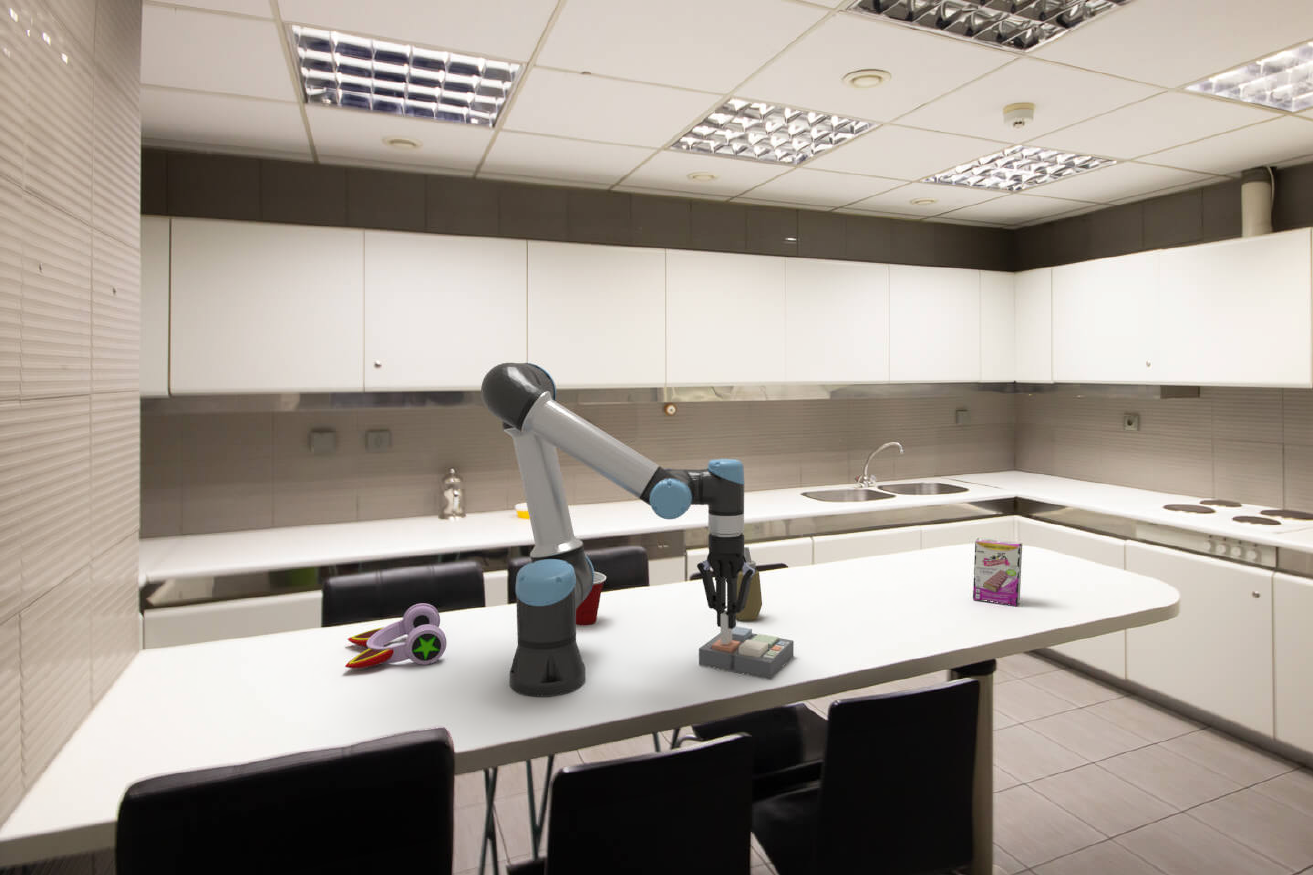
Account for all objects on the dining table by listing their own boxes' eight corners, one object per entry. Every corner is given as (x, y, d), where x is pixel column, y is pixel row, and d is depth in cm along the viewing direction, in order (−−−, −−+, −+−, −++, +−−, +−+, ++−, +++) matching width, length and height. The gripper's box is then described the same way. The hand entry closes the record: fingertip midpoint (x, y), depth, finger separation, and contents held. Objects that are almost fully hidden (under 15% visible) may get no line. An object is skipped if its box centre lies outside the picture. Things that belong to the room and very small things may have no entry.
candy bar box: (972, 600, 197) (974, 540, 196) (975, 596, 202) (977, 537, 200) (1018, 607, 191) (1020, 545, 190) (1020, 602, 196) (1022, 542, 194)
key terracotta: (731, 662, 153) (731, 648, 153) (711, 658, 155) (711, 644, 155) (740, 655, 157) (740, 641, 157) (720, 651, 159) (720, 637, 159)
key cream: (759, 664, 150) (759, 650, 149) (738, 660, 152) (738, 646, 152) (767, 657, 154) (767, 643, 153) (747, 653, 156) (747, 639, 156)
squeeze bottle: (754, 624, 180) (754, 552, 178) (724, 619, 184) (724, 549, 182) (767, 615, 186) (767, 546, 185) (738, 610, 191) (738, 542, 189)
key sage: (770, 657, 155) (770, 643, 155) (750, 653, 158) (750, 640, 157) (778, 650, 159) (778, 637, 159) (758, 646, 162) (758, 633, 161)
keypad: (770, 679, 147) (770, 660, 147) (698, 664, 155) (698, 646, 155) (793, 656, 159) (793, 638, 159) (726, 643, 167) (726, 626, 167)
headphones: (449, 627, 157) (348, 628, 150) (444, 672, 157) (343, 675, 150) (441, 601, 175) (351, 601, 168) (437, 641, 176) (347, 643, 168)
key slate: (743, 649, 158) (743, 635, 158) (724, 645, 161) (724, 631, 160) (751, 642, 162) (751, 629, 162) (732, 638, 165) (732, 625, 164)
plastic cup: (600, 630, 176) (599, 581, 175) (557, 627, 179) (556, 579, 178) (612, 616, 187) (611, 570, 186) (571, 613, 189) (570, 568, 188)
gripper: (762, 532, 154) (761, 641, 156) (706, 526, 160) (706, 631, 162) (748, 539, 147) (748, 653, 149) (690, 533, 154) (691, 642, 156)
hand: (726, 642), depth 156 cm, fingers closed
